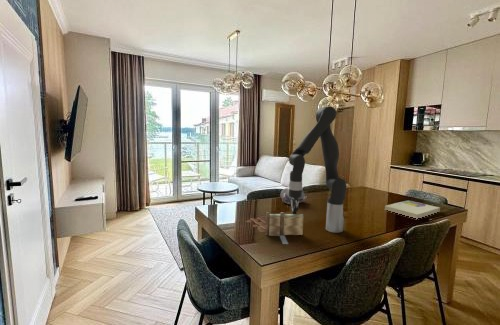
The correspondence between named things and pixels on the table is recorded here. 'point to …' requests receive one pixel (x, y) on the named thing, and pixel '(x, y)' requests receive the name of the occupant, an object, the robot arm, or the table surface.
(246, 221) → the decorative fence
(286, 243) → the card
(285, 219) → the gate panel
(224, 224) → the table surface
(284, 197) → the toy elephant
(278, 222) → the fixed leg
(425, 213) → the puzzle box
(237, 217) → the table surface
